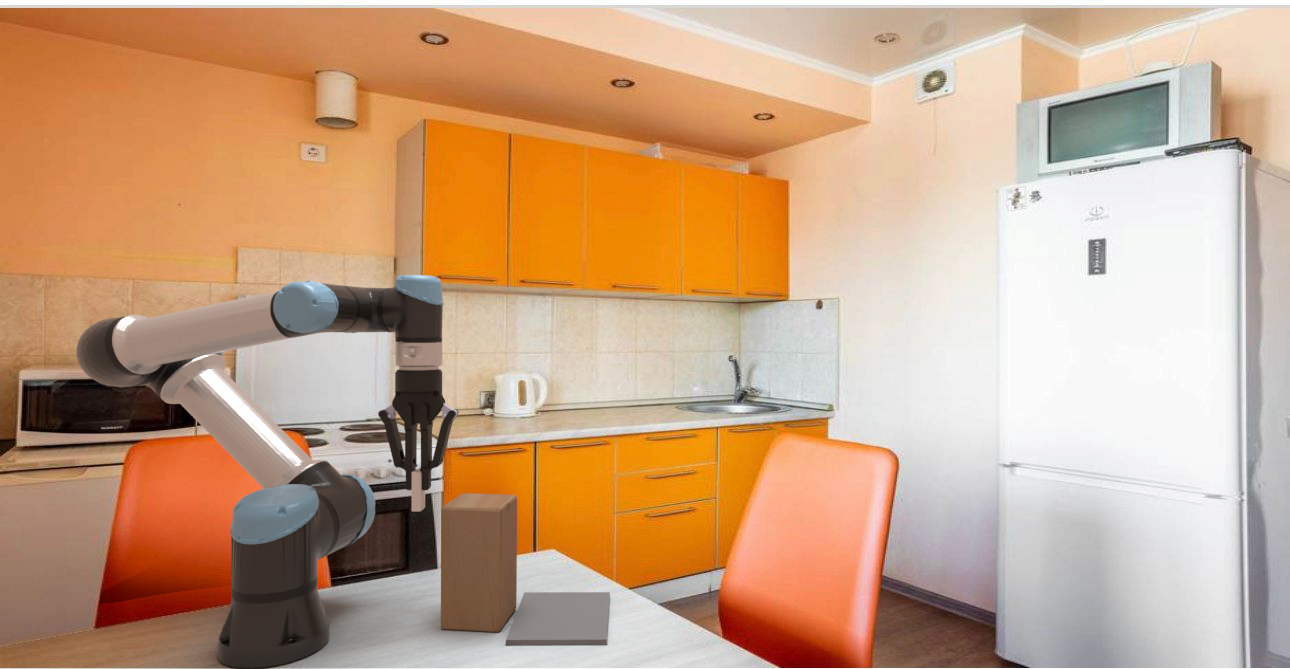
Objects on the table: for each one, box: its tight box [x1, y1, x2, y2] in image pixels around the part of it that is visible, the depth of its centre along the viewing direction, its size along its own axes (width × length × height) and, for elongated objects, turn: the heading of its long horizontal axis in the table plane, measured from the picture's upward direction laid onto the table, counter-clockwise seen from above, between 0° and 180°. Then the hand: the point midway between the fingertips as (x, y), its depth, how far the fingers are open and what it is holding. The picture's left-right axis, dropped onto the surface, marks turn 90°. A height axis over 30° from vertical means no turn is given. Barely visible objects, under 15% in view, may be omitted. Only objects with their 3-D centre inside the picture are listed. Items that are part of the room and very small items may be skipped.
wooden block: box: [440, 492, 518, 633], centre depth 120 cm, size 10×10×20 cm
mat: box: [505, 591, 611, 646], centre depth 120 cm, size 16×20×1 cm
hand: (418, 509), depth 120 cm, fingers closed
